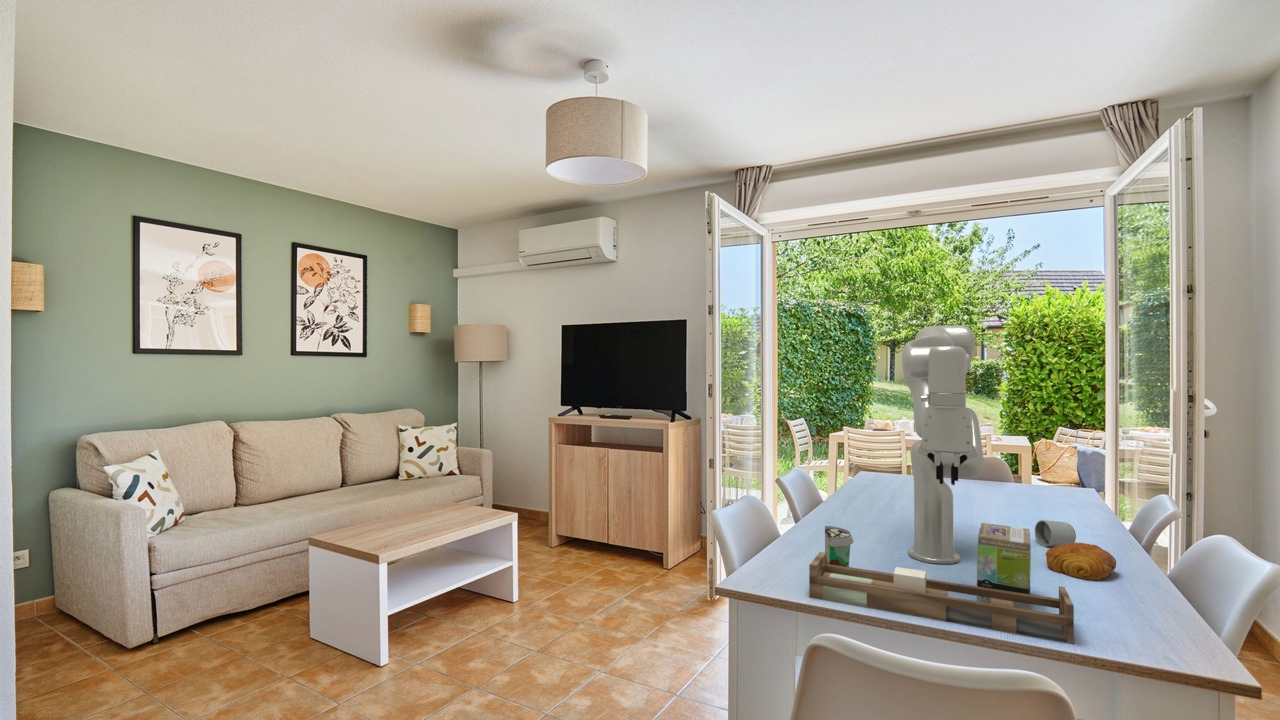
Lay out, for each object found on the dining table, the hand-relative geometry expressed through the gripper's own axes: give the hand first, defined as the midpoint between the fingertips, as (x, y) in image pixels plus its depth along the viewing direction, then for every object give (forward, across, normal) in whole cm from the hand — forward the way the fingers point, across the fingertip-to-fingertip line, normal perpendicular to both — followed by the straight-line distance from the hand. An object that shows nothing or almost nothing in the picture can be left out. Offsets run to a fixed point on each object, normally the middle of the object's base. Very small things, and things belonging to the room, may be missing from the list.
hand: (947, 482), depth 135 cm
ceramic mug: (+25, +26, +61) cm, 71 cm away
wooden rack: (+25, -3, -10) cm, 27 cm away
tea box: (+25, +11, +5) cm, 28 cm away
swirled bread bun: (+26, +29, +36) cm, 53 cm away
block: (+22, -7, -10) cm, 25 cm away
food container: (+25, -24, +5) cm, 35 cm away
